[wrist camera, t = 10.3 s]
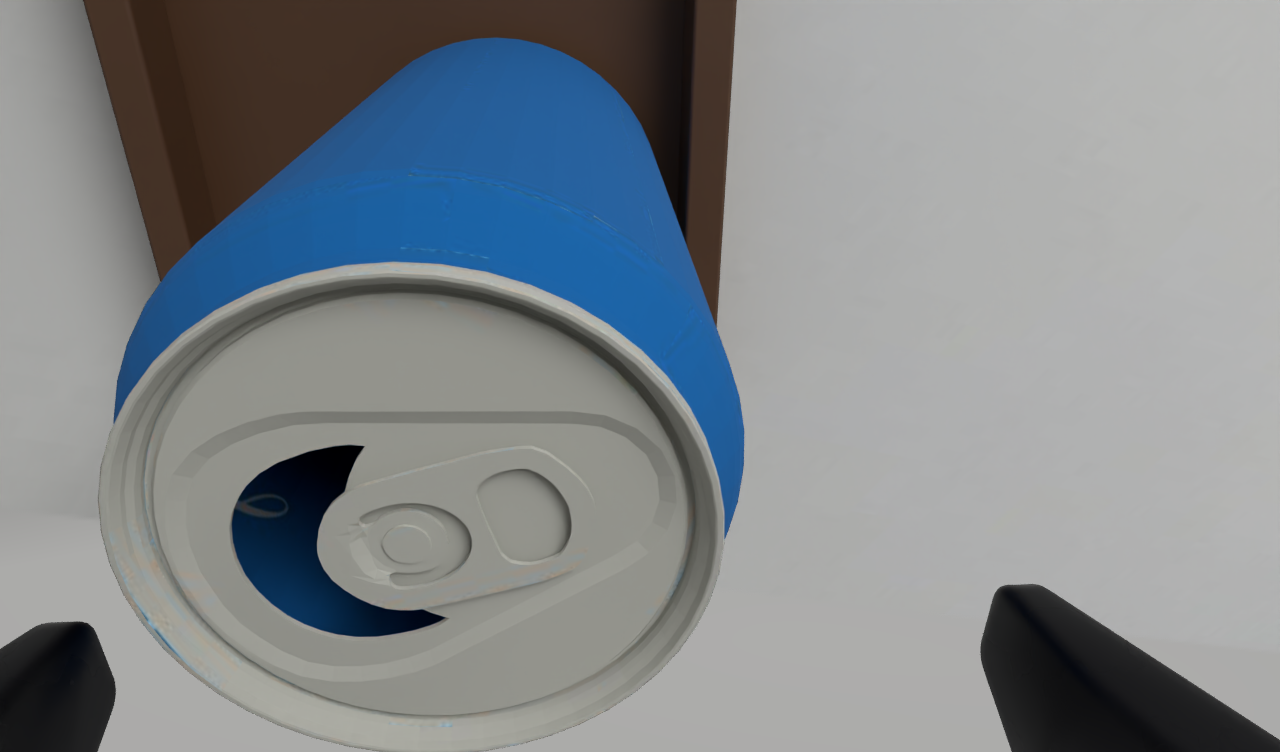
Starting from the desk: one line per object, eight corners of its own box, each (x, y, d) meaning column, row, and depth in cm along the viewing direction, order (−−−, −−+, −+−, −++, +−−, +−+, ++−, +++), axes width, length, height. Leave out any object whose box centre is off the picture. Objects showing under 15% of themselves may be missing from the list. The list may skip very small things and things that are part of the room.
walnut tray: (699, 396, 22) (710, 437, 20) (236, 407, 21) (205, 451, 19) (733, -255, 15) (754, -278, 14) (67, -274, 14) (-4, -303, 13)
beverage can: (304, 81, 17) (-134, 336, 6) (614, -6, 17) (689, 116, 6) (420, 355, 20) (254, 835, 9) (684, 287, 20) (815, 705, 9)
